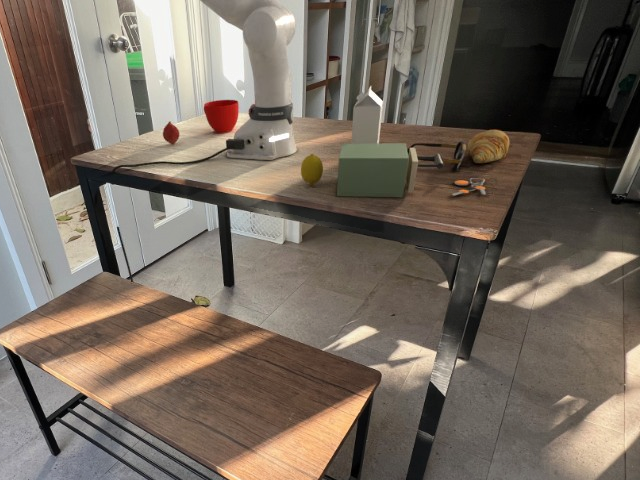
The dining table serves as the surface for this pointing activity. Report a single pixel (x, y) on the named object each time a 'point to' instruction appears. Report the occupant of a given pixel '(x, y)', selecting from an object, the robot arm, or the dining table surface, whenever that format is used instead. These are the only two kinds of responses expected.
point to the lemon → (311, 169)
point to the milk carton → (367, 118)
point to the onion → (171, 133)
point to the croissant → (488, 146)
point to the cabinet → (372, 170)
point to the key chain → (474, 185)
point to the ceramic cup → (222, 115)
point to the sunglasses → (459, 147)
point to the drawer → (414, 164)
